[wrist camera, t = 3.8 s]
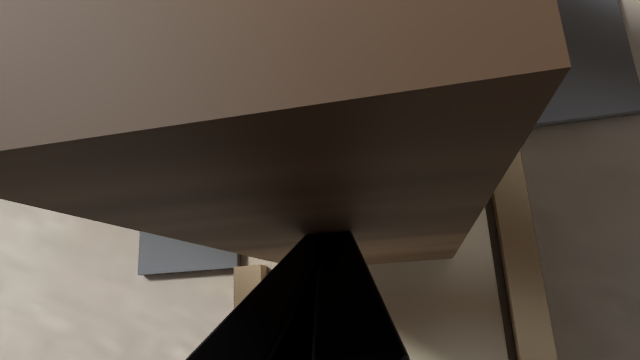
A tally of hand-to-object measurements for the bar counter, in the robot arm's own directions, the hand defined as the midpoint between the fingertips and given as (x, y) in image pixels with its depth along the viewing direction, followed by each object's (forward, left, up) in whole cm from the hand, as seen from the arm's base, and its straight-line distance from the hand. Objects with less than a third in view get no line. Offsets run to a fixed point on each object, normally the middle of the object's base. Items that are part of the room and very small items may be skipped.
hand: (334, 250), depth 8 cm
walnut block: (+4, -5, -7) cm, 10 cm away
